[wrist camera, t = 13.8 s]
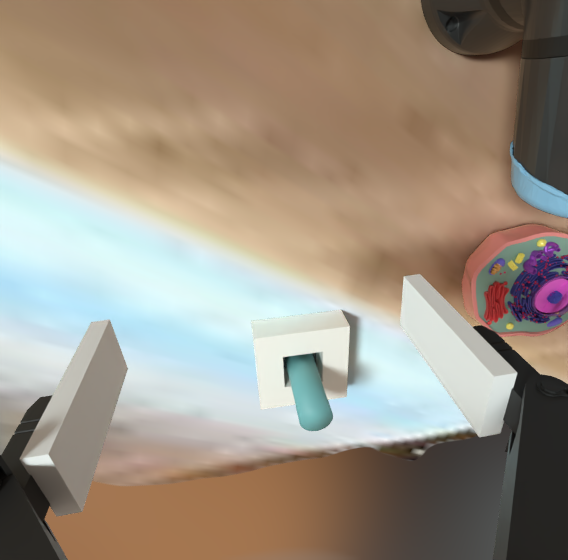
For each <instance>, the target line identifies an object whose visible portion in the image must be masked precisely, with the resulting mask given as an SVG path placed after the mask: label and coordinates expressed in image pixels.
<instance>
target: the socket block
mask: <svg viewBox="0 0 568 560" xmlns="http://www.w3.org/2000/svg"><path fill="white" fill-rule="evenodd" d="M251 325H252V334H253V344H254V353H255V363H256V372H257V382H258V391H259V399H260V407H261V410H263V409H269V408H276V407H283V406H289V405H296V404H295V400H294V396H293V392H292V387H291V383H290V379H289V374H288V370H287V367H283V357H288V356H295V355H302V354H310V353H316V366H317V369H318V372H319V375H320V378H321V381H322V384H323V387H324V390H325V393H326V396H327V399H328V400H329V399H336V398H342V397H347V377H348V356H349V334H350V326H349V324H348V322H347V320H346V318H345V316H344V314H343V312H342V310H334V311H326V312H318V313H310V314H302V315H294V316H286V317H278V318H270V319H262V320H254V321H251Z"/></svg>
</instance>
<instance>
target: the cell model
mask: <svg viewBox="0 0 568 560" xmlns="http://www.w3.org/2000/svg"><path fill="white" fill-rule="evenodd" d="M462 294H463V300H464V307H465V310H466V311H467V313H468V314H469V315H470V316H471V317H472V318H473V319H474V320H475V321H476V322H478V323H479V324H480V325H483V326H485V327H487V328H488V329H490V330H492V331H494V332H496V333H497V334H498V335H499V336H500V337H506V336H517V335H524V336H539V335H544V334H547V333H549V332H551V331H554V330H555V329H557V328H559V327H561V326H562V325H564V324H565V323H567V322H568V234H565V233H562V232H560V231H557V230H554V229H552V228H549V227H546V226H542V225H538V224H528V225H523V226H519V227H515V228H511V229H507V230H502V231H498V232H494V233H492V234H490V235H489V236H488V237H487V238H486V239H485V240H484V241H483V242H482V243H481V244H480V245H479V246H478V247H477V248H476V249H475V251H474V252H473V253H472V254H471V255H470V257H469V258H468V260H467V262H466V265H465V270H464V274H463V277H462Z"/></svg>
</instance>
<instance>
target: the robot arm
mask: <svg viewBox="0 0 568 560" xmlns="http://www.w3.org/2000/svg"><path fill="white" fill-rule="evenodd" d="M421 4H422V9H423V13H424V17H425V20H426V22H427V24H428V27H429V29H430V30H431V32H432V34H433V35H434V36H435V38H436V39H437V40H438V41H439V42H440V43H441V44H442V45H443V46H445V47H446V48H448V49H449V50H451V51H453V52H456V53H459V54H463V55H482V54H490V53H495V52H498V51H501V50H503V49H506V48H508V47H510V46H512V45H514V44H515V43H517V42H518V41H520V40H522V39H523V43H522V54H521V60H520V71H519V81H518V92H517V103H516V114H515V124H514V135H513V141H512V142H511V145H510V156H511V159H512V165H511V182H512V186H513V187H514V189H515V191H516V193H517V195H518V196H519V197H520V198H521V199H522V200H524V201H525V202H526V203H528V204H529V205H531V206H533V207H535V208H537V209H539V210H541V211H544V212H547V213H550V214H553V215H556V216H560V217H564V218H568V0H421ZM400 326H401V327H402V329H403V330H404V332H405V333H406V335H407V336H408V337H409V339H410V340H411V342H412V343H413V344H414V346H415V347H416V349H417V350H418V351H419V353H420V354H421V356H422V357H423V358H424V360H425V361H426V363H427V364H428V366H429V367H430V368H431V370H432V371H433V373H434V374H435V375H436V377H437V378H438V380H439V381H440V382H441V384H442V385H443V387H444V388H445V390H446V391H447V392H448V394H449V395H450V397H451V398H452V399H453V401H454V402H455V404H456V405H457V406H458V408H459V409H460V411H461V412H462V414H463V415H464V416H465V418H466V419H467V421H468V422H469V423H470V425H471V426H472V428H473V429H474V430H475V432H476V433H477V435H478V436H479V437H483V436H489V435H494V434H499V433H501V430H502V426H503V422H504V421H505V423H506V424H507V425H508V426H509V428H510V429H511V430H512V431H511V434H510V438H509V441H508V444H507V448H506V452H507V460H506V467H505V475H504V482H503V490H502V496H501V504H500V511H499V518H498V525H497V532H496V539H495V547H494V554H493V560H568V384H566V383H565V382H563V381H562V380H560V379H557V378H555V377H552V376H547V375H540V374H539V373H538V372H537V371H536V370H535V369H534V368H533V367H532V366H531V365H530V364H529V363H527V362H526V361H525V360H524V359H523V358H522V357H521V356H520V355H519V354H518V353H517V352H516V351H515V350H512V347H511V346H509V345H508V344H507V343H505V341H504V340H503V339H502V338H501V337H500V336H499V335H498V334H497V333H496V332H494V331H492V330H490V329H488V328H487V327H485V326H483V325H481V326H474V327H472V326H471V325H470V324H469V323H468V322H467V321H466V320H465V319H464V318H463V317H462V316H461V315H460V314H459V313H458V312H457V311H456V310H455V309H454V308H453V307H452V306H451V305H450V304H449V303H448V302H447V301H446V300H445V299H444V298H443V297H442V296H441V295H440V294H439V293H438V292H437V291H436V290H435V289H434V288H433V287H432V286H431V285H430V284H429V283H428V282H427V281H426V280H425V279H424V278H423V277H422V276H421V275H420V274H416V275H409V276H404V281H403V294H402V306H401V319H400ZM127 369H128V368H127V365H126V362H125V360H124V357H123V354H122V352H121V349H120V346H119V343H118V341H117V338H116V335H115V333H114V330H113V327H112V325H111V322H110V320H103V321H97V322H91V324H90V326H89V327H88V329H87V331H86V333H85V335H84V337H83V339H82V341H81V343H80V345H79V346H78V348H77V350H76V352H75V354H74V356H73V358H72V360H71V362H70V364H69V366H68V367H67V369H66V371H65V373H64V375H63V377H62V379H61V381H60V383H59V385H58V386H57V388H56V390H55V392H54V394H53V395H52V396H46V397H40V398H39V399H38V400H37V401H36V402H35V403H34V404H33V405H32V406H31V407H30V408H29V409H28V410H27V412H26V413H25V415H24V417H23V419H22V420H21V424H19V426H18V427H17V429H16V431H15V435H13V436H12V438H11V439H10V441H9V443H8V445H7V446H6V448H5V450H4V452H3V453H2V455H0V560H68V559H67V558H66V556H65V554H64V552H63V551H62V549H61V547H60V545H59V543H58V542H57V540H56V538H55V536H54V534H53V533H52V531H51V529H50V527H49V526H48V524H47V522H46V521H45V519H44V518H45V516H46V513H47V511H48V508H49V506H50V507H51V509H52V510H53V512H54V513H55V515H56V516H62V515H67V514H72V513H78V512H82V511H83V507H84V504H85V501H86V498H87V495H88V491H89V489H90V485H91V482H92V479H93V476H94V473H95V470H96V467H97V463H98V460H99V457H100V454H101V451H102V448H103V445H104V441H105V438H106V435H107V432H108V429H109V426H110V423H111V420H112V416H113V413H114V410H115V407H116V404H117V401H118V398H119V394H120V391H121V388H122V385H123V382H124V379H125V376H126V372H127Z"/></svg>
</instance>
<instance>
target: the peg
mask: <svg viewBox="0 0 568 560" xmlns="http://www.w3.org/2000/svg"><path fill="white" fill-rule="evenodd" d="M285 362H286V366H287V370H288V374H289V379H290V383H291V387H292V392H293V396H294V400H295V404H296V409H297V413H298V417H299V422H300V425H301V426H302V428H304V429H306V430H308V431H318V430H321V429H323V428H325V427H327V426H328V425H329V424H330V423H331V421H332V419H333V414H332V411H331V408H330V405H329V402H328V399H327V396H326V393H325V390H324V387H323V384H322V381H321V378H320V375H319V372H318V369H317V366H316V363H315V360H314V357H313V354H312V353H310V354H302V355H295V356H288V357H285Z"/></svg>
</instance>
